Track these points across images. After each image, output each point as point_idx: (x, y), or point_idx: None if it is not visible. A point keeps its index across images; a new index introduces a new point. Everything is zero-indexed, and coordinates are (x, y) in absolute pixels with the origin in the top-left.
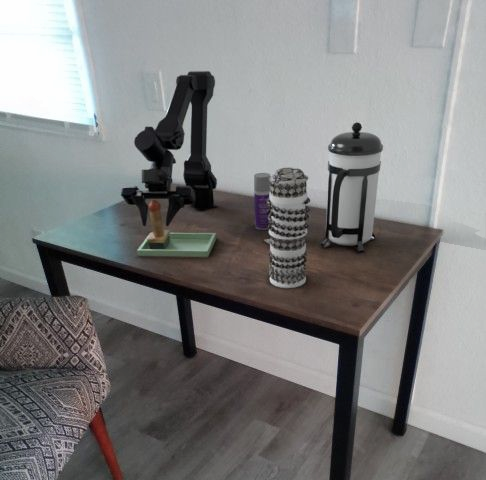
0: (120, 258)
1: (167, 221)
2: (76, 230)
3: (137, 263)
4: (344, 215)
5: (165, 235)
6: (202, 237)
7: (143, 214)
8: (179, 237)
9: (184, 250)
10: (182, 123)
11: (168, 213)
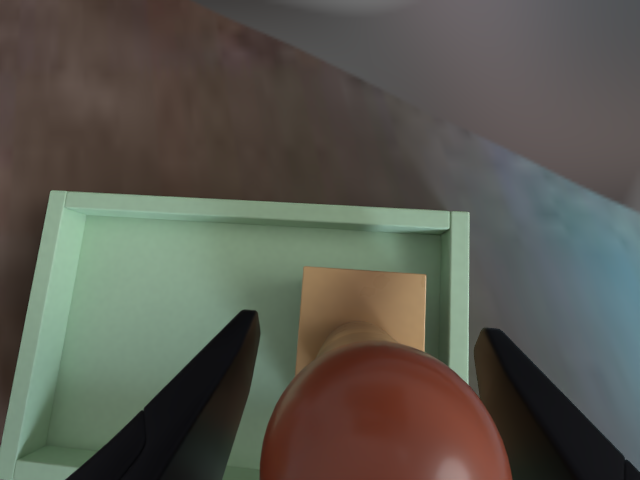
0: (558, 215)
1: (231, 327)
2: None
3: (437, 154)
4: None
5: (301, 338)
6: None
7: (544, 416)
8: (250, 472)
9: (177, 202)
10: None
11: (188, 399)
